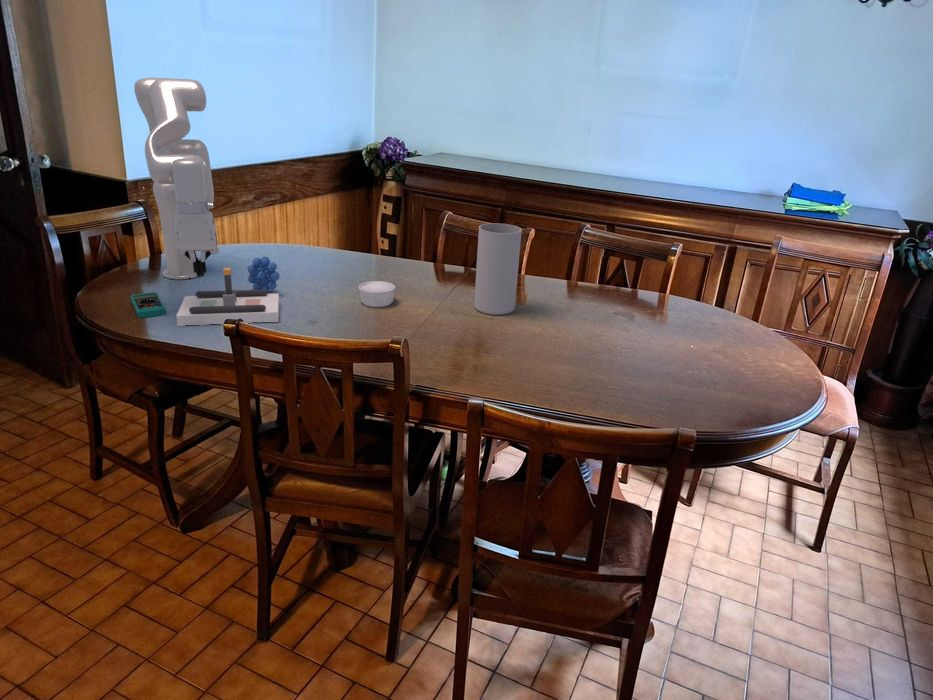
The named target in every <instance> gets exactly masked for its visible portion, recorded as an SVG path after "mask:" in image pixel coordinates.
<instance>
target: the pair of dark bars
mask: <svg viewBox="0 0 933 700" xmlns="http://www.w3.org/2000/svg"><path fill="white" fill-rule="evenodd" d="M267 294H269V292H267V290H254V289H241V290H240V289H238V290H236V297H237V296H266V295H267ZM223 295H225V294H224V290H200V291H196V292H195V296H197V297H198V298H201V297H223ZM265 310H266V307H265V305H237V306H205V307H191V308H190V309H189V312H190V313H192V314H195V313H225V312H255V311H265Z"/></svg>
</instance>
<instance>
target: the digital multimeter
mask: <svg viewBox="0 0 933 700" xmlns="http://www.w3.org/2000/svg"><path fill="white" fill-rule="evenodd" d="M129 298H130V302H131V304H132V306H133V308H134V309H135V310H134V311H135V313H136V316H137V318H138V319H143V318H154V317H160V316H163V315H164V314H165V315H166V314H167V310H166V309H167V308H166V307H165V305H164V304H163V303H162V300H161V298H160V296H159V293H158V292H155V291H154V292H142V293H137V294H132V295H131V296H129ZM150 299H151V300H150ZM159 315H160V316H159ZM153 316H154V317H153Z"/></svg>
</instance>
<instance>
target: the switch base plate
mask: <svg viewBox="0 0 933 700" xmlns="http://www.w3.org/2000/svg"><path fill="white" fill-rule="evenodd" d="M223 291H224V294H225V295H223V297H201V298H198V297H197V296H196V295H185V296H184V298H183V300H182V303H181V305H180V306H179V309H178V311H177V313H176V325H177V327H186V326H185V325H200V326H206V325H205V324H221V325H220V326H223V322H224V320H226V319H229V318H241V319H243V320H244V321H245V322H247V323H250V324H249V325H252V324H254V323H251V322H278V323H279V319H278V318H279V316H280V315H279V314H280V294H279V293H267V295H266V296H237V297H236V288H232V291H233V293H234V294H226V290H225V289H224V290H223ZM234 295H235V296H234ZM237 305H265V307H266V310H265V311H255V312H225V313H195V314H192V313H190V312H189V309H190V308H191V307H205V306H237Z"/></svg>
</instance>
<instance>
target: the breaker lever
mask: <svg viewBox="0 0 933 700" xmlns="http://www.w3.org/2000/svg"><path fill="white" fill-rule="evenodd" d="M222 272H223V279H224V288H225V290H226V294H234V293H233V291H232V289H233V282H232V268H231V267H223V269H222ZM234 296H235V295H234Z"/></svg>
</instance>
